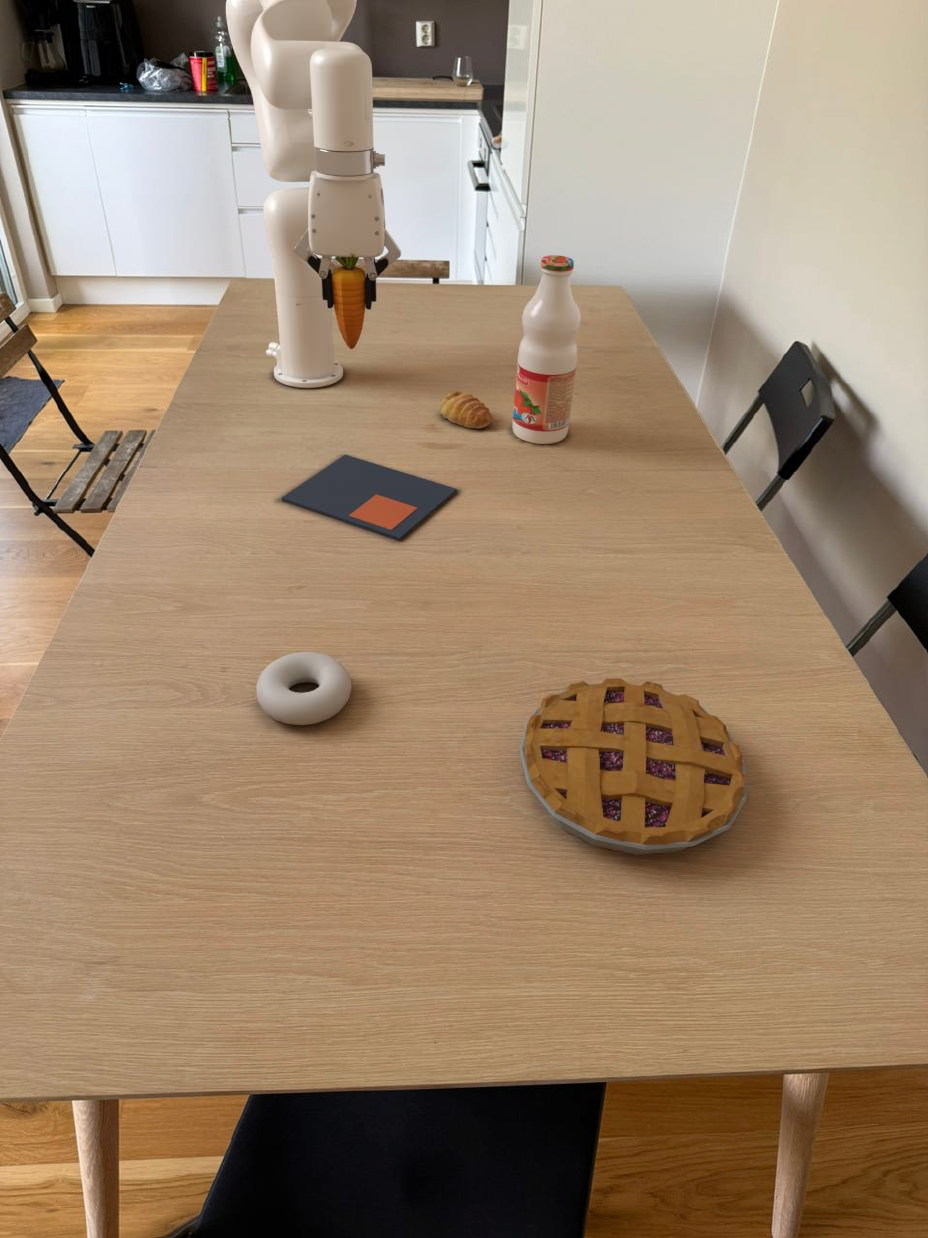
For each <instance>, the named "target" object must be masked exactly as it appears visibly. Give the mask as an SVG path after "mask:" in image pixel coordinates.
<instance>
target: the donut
mask: <svg viewBox="0 0 928 1238" xmlns="http://www.w3.org/2000/svg"><path fill="white" fill-rule="evenodd" d="M304 683H311V684H315V685H317V686H318V687H316V688H315V689H314V690H311V691H308V692H307V691H306V692H296V691H292V690H290V689H291V688H292V687H294V686H295V685H299V684H304ZM352 687H353V686H352V681H351V677H350V673H349V672H348V670H347V668H346V667H345V666H344V665H343V664H342V662H340V661H338V660H337V659H336V658H334V657H333V656H330V655H327V654H323V653H321V652H315V651H300V652H292V653H290V654H286V655H283V656H281V657H279V658H277V659H276V660H274V661H273V662H271V663H269V664H268V665H267V666H266V667H265V668H264V669H263V670H262V671H261V673H260V675H259V677H258V680H257V682H256V686H255V691H256V692H255V693H256V699H257V703H258V704H259V706H260V708H261V709H262V711H263V712H264V713H265V714H266V715H268V716H269V717H271V718H272V719H273V720H275V721H278V722H281V723H283V724H286V725H296V726H307V725H315V724H318V723H320V722H324V721H327V720H329V719H331V718H333V717H334V716H335V715H337V714H338V713H340V711H341V710H342V709H343V708H344V707H345V705H346V704H347V703H348V701H349V699H350V695H351V692H352Z"/></svg>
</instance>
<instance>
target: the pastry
mask: <svg viewBox="0 0 928 1238" xmlns="http://www.w3.org/2000/svg"><path fill="white" fill-rule="evenodd" d="M439 412H440V413H441V415H442V416H443V418H444V419H447V421H449V422H451V423H453V424H457V425H458V426H460V427H461V426H462V427H463V428H468V429H478V430H479V429H480V430H481V429H483V428H485V427H487V426H489V425H490V424H491V421H492V419H493V415H492V414H491V412H490V409H489V408H488V407H486V404H485V403H484V402H481V400H479V398H478V397H476V396H475V397H474V396H473V395H472V394H470V393H465V394H464V393H463V392H462V391H459V390H453V391H451V392H449V393H448V394H447V395H446V396H444V397H443V399H442V401H441V402H440V405H439Z"/></svg>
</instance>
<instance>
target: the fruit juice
mask: <svg viewBox="0 0 928 1238" xmlns="http://www.w3.org/2000/svg"><path fill="white" fill-rule="evenodd" d="M539 267H540V271H541V278H540V280H539V285H538V287H537V289H536V292H535V294H534V295H533V297H531V299H530V300H529V301H528V302H527V303H526V304H525V306H524V308H523V312H522V315H521V325H522V326H521V327H522V331H523V335H522V339H521V341H520V343H519V348H518V353H517V361H516V363H517V364H516V374H515V375H516V376H515V386H514V387H515V388H514V396H513V397H514V399H513V411H512V421H511V422H512V423H511V425H512V432H513V434H514V436H516V437H517V438H519V439H520V440H522V441H524V442H527V443H530V444H531V443H532V444H537V445H551V444H556V443H559V442H561V441H563V440H564V439H566V437H567V435H568V431H569V428H570V419H571V411H572V403H573V396H574V388H575V381H576V380H575V378H576V372H577V364H578V344H577V342H576V340H577V336H578V333H579V331H580V328H581V324H582V314H581V310H580V308H579V306H578V304H577V302H576V301H575V300H574V297H573V293H572V288H571V287H572V286H571V274H573V272H574V268H575V262H574V259H573V258H571V257H569V256H565V255H557V254H553V255H552V254H551V255H545V256H542V258H541V260H540V266H539Z"/></svg>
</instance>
